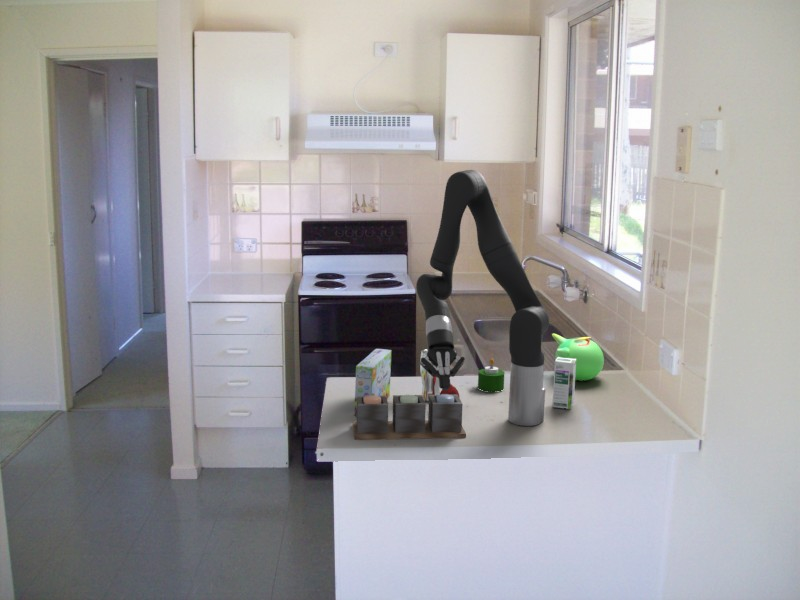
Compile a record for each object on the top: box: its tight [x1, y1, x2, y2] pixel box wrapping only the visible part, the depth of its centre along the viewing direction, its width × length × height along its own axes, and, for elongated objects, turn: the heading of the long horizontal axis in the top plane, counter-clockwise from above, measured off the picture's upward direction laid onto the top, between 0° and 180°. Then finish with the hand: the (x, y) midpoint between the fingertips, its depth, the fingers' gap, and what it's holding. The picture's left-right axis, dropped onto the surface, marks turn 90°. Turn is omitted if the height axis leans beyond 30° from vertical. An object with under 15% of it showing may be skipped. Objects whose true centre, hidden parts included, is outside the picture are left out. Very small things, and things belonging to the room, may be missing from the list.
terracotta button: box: [363, 395, 381, 404], centre depth 228 cm, size 5×5×4 cm
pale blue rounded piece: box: [437, 394, 454, 403], centre depth 230 cm, size 5×5×4 cm
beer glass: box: [419, 348, 441, 403], centre depth 256 cm, size 7×7×15 cm
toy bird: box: [551, 333, 605, 382], centre depth 280 cm, size 18×17×15 cm
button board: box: [352, 394, 467, 441], centre depth 229 cm, size 30×11×9 cm, turn 96°
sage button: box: [400, 394, 418, 403], centre depth 229 cm, size 5×5×4 cm
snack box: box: [354, 348, 392, 416], centre depth 249 cm, size 21×6×15 cm, turn 166°
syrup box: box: [551, 357, 576, 410], centre depth 253 cm, size 6×6×14 cm
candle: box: [477, 358, 505, 393], centre depth 268 cm, size 8×8×10 cm
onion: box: [440, 382, 460, 398], centre depth 249 cm, size 6×6×8 cm
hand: (445, 389), depth 230 cm, fingers closed
